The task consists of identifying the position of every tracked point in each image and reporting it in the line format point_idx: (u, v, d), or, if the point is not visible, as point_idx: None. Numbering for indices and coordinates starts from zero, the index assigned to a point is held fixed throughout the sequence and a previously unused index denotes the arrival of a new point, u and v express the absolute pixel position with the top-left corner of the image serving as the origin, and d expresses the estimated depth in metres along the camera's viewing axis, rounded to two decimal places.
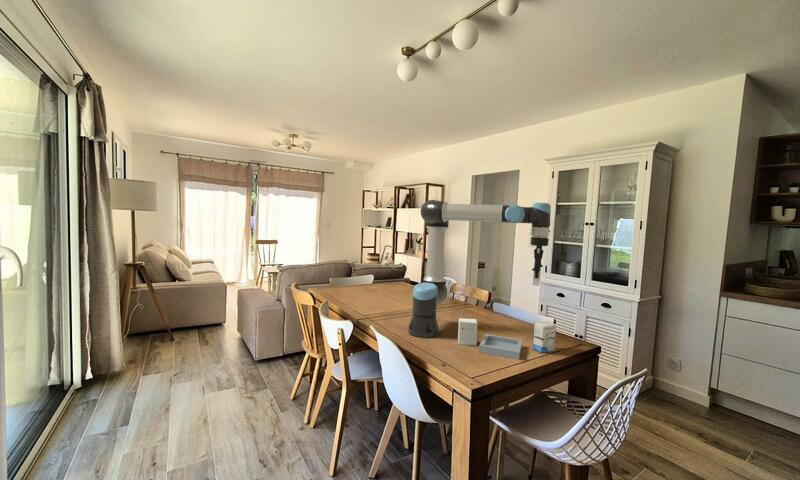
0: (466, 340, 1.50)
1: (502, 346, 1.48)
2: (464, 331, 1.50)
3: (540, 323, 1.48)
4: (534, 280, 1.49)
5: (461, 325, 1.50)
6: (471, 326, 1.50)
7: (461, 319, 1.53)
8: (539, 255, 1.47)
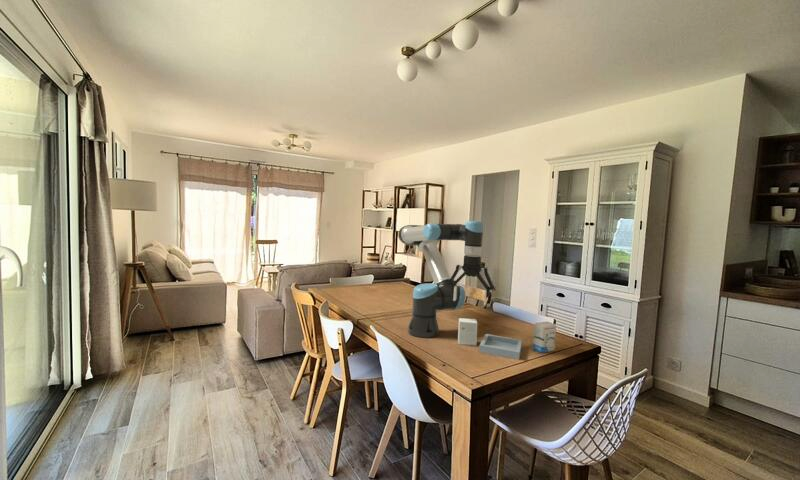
0: (466, 340, 1.50)
1: (502, 346, 1.48)
2: (464, 331, 1.50)
3: (540, 323, 1.48)
4: None
5: (461, 325, 1.50)
6: (471, 326, 1.50)
7: (461, 319, 1.53)
8: None
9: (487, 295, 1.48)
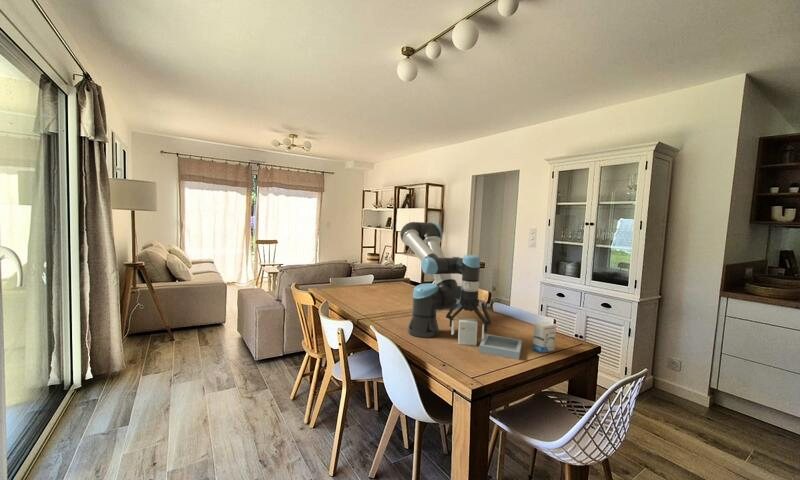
0: (466, 340, 1.50)
1: (502, 346, 1.48)
2: (464, 331, 1.50)
3: (540, 323, 1.48)
4: None
5: (461, 325, 1.50)
6: (471, 326, 1.50)
7: (461, 319, 1.53)
8: (452, 305, 1.54)
9: (485, 330, 1.49)
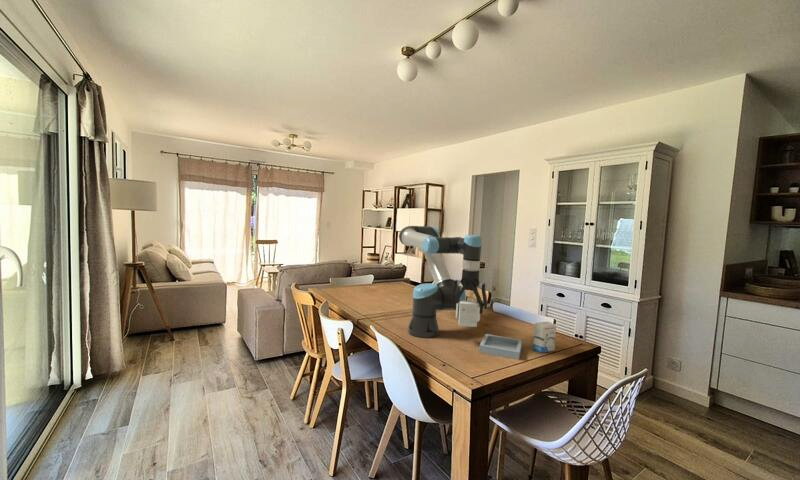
0: (466, 322, 1.50)
1: (502, 346, 1.48)
2: (464, 312, 1.50)
3: (540, 323, 1.48)
4: None
5: (461, 306, 1.50)
6: (472, 307, 1.49)
7: (462, 301, 1.53)
8: None
9: (480, 311, 1.50)
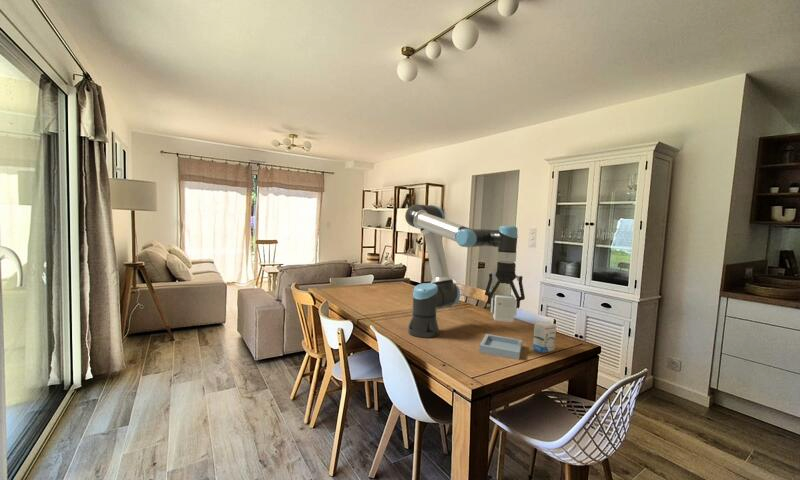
0: (503, 316, 1.43)
1: (502, 346, 1.48)
2: (501, 306, 1.43)
3: (540, 323, 1.48)
4: None
5: (497, 300, 1.43)
6: (508, 301, 1.43)
7: (497, 295, 1.46)
8: None
9: (517, 306, 1.43)
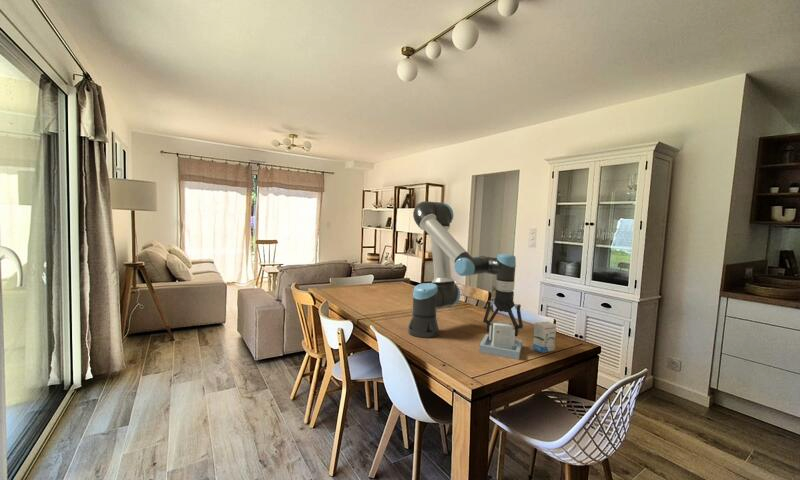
0: (501, 344, 1.44)
1: None
2: (499, 334, 1.44)
3: (540, 323, 1.48)
4: None
5: (496, 328, 1.44)
6: (507, 329, 1.44)
7: (495, 322, 1.47)
8: (487, 308, 1.48)
9: (516, 334, 1.44)
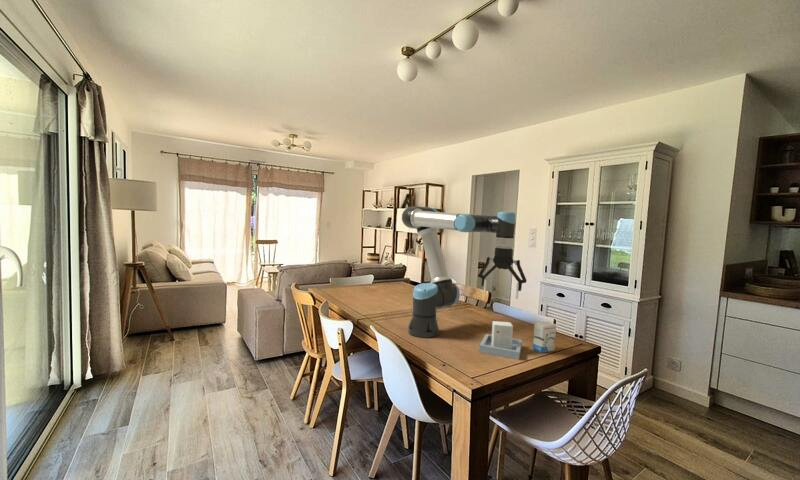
0: (501, 344, 1.44)
1: None
2: (499, 334, 1.44)
3: (540, 323, 1.48)
4: None
5: (496, 328, 1.44)
6: (507, 329, 1.44)
7: (495, 322, 1.47)
8: (485, 263, 1.49)
9: (519, 288, 1.43)
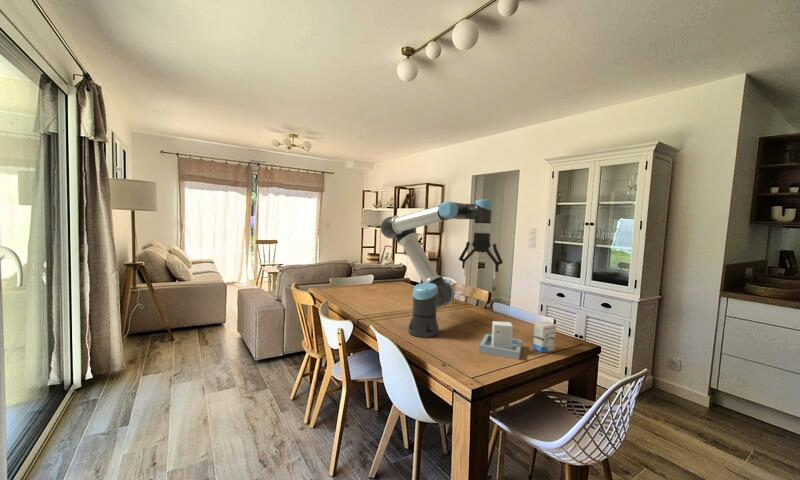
0: (501, 344, 1.44)
1: None
2: (499, 334, 1.44)
3: (540, 323, 1.48)
4: None
5: (496, 328, 1.44)
6: (507, 329, 1.44)
7: (495, 322, 1.47)
8: (465, 247, 1.62)
9: (496, 269, 1.56)
